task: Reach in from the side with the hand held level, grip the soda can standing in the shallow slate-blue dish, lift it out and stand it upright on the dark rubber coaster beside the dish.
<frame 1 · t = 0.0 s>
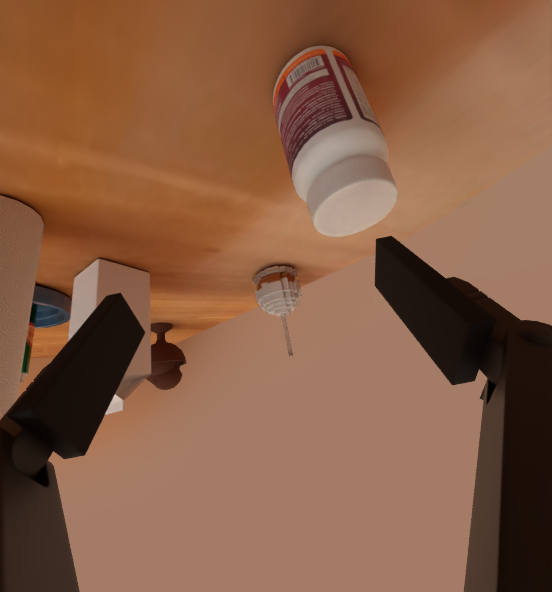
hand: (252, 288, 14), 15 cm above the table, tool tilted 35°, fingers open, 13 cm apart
candy apple: (274, 272, 48), on the table
milk carton: (113, 273, 39), on the table
pill bottle: (310, 90, 20), on the table
dish: (16, 298, 40), on the table
ice cream bowl: (160, 325, 64), on the table
soda can: (16, 299, 40), resting on dish
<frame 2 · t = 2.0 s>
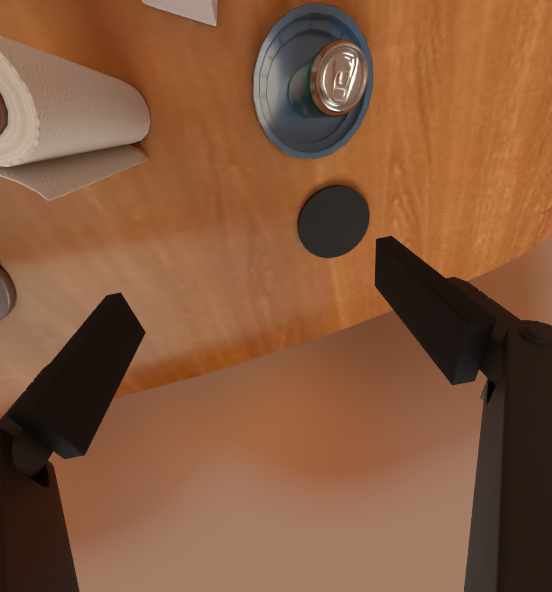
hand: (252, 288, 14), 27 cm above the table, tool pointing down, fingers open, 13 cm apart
coaster: (332, 223, 41), on the table
paper towel roll: (124, 118, 31), on the table
dish: (308, 93, 31), on the table
soda can: (308, 93, 31), resting on dish
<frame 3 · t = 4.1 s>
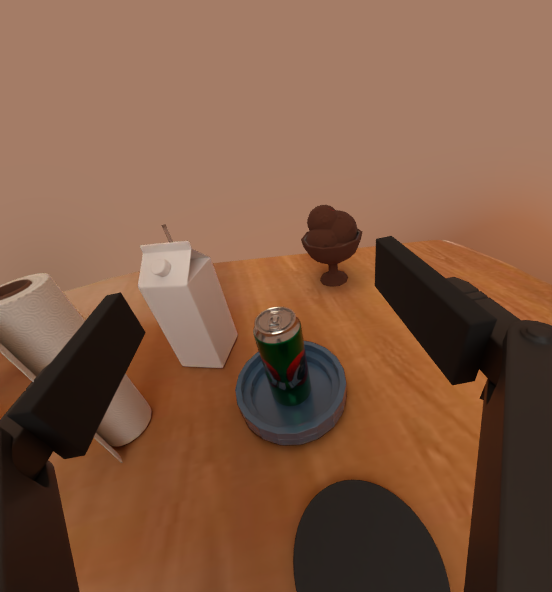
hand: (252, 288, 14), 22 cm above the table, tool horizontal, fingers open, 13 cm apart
milk carton: (211, 351, 43), on the table
coaster: (365, 565, 20), on the table
paper towel roll: (127, 429, 34), on the table
dish: (292, 392, 34), on the table
ice cream bowl: (334, 279, 54), on the table
soda can: (292, 391, 34), resting on dish
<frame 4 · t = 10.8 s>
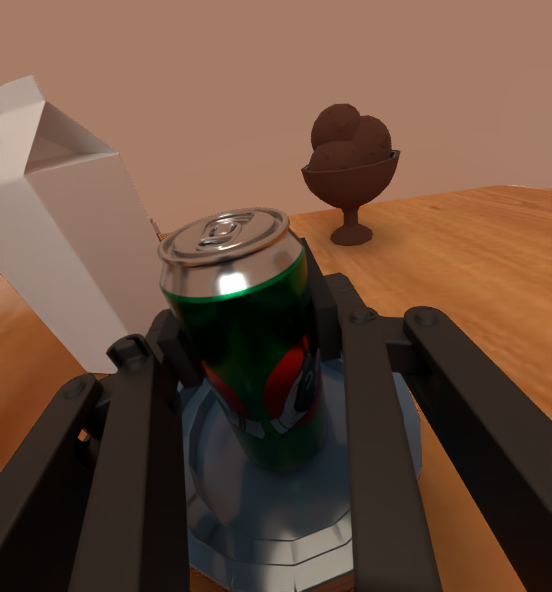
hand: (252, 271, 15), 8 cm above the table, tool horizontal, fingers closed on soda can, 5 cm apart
milk carton: (147, 346, 25), on the table
dish: (285, 431, 15), on the table
ice cream bowl: (351, 238, 36), on the table
soda can: (284, 429, 15), resting on dish, touching gripper
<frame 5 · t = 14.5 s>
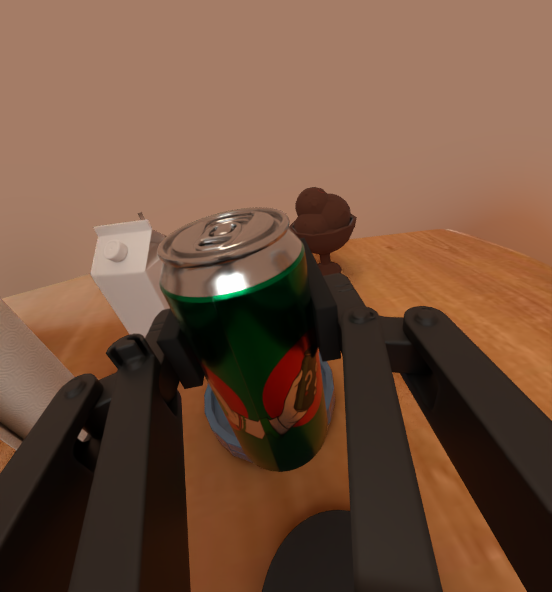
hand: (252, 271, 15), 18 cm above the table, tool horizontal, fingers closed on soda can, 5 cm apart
milk carton: (186, 351, 38), on the table
paper towel roll: (79, 441, 29), on the table
dish: (272, 398, 29), on the table
ice cream bowl: (326, 272, 49), on the table
soda can: (284, 429, 15), point 10 cm above the table, touching gripper
when the fingers open (8 cm above the table, at t = 18.4 s): soda can stays where it is, resting on coaster.
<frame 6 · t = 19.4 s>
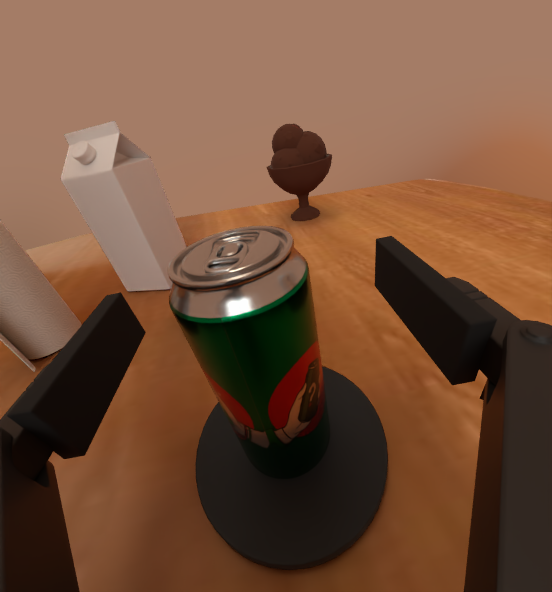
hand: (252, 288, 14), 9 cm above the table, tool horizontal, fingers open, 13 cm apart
milk carton: (163, 279, 39), on the table
coaster: (288, 441, 16), on the table
paper towel roll: (51, 345, 30), on the table
ice cream bowl: (305, 216, 50), on the table
soda can: (287, 436, 16), point 1 cm above the table, touching coaster
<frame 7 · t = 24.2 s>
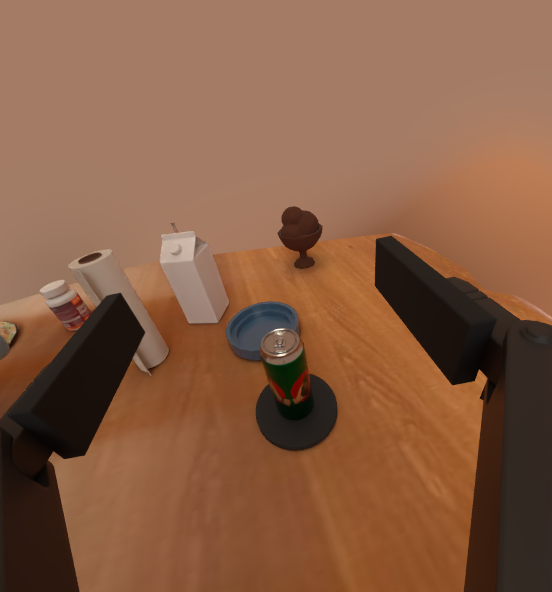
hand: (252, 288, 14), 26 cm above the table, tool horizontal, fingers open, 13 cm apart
milk carton: (210, 314, 59), on the table
pill bottle: (82, 324, 66), on the table
coaster: (296, 408, 36), on the table
paper towel roll: (152, 360, 50), on the table
dish: (264, 334, 50), on the table
ice cream bowl: (304, 264, 70), on the table
soda can: (295, 406, 36), point 1 cm above the table, touching coaster
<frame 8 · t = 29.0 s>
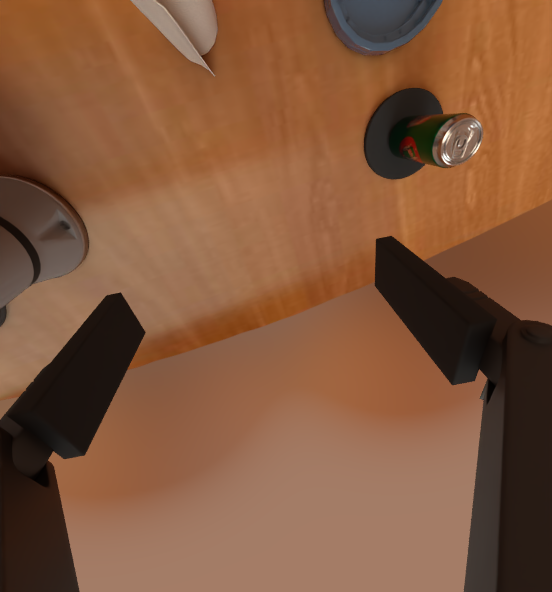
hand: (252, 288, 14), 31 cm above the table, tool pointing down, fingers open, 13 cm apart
coaster: (401, 137, 38), on the table
paper towel roll: (190, 30, 30), on the table
soda can: (403, 137, 37), point 1 cm above the table, touching coaster
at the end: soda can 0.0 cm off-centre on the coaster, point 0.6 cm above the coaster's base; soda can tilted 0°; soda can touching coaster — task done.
